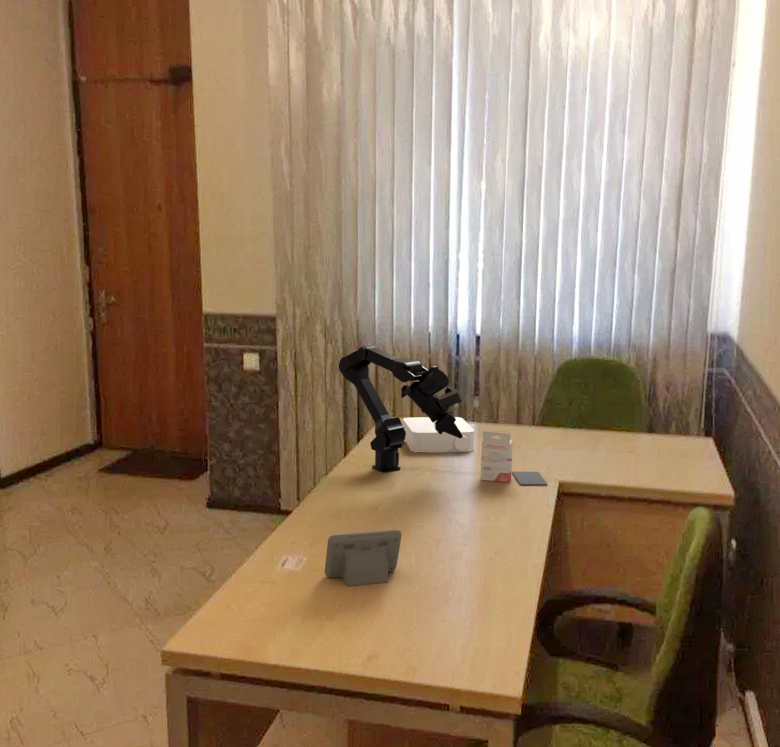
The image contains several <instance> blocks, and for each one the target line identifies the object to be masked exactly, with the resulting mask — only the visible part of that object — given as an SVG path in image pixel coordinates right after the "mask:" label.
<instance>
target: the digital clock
mask: <svg viewBox="0 0 780 747" xmlns="http://www.w3.org/2000/svg"><path fill="white" fill-rule="evenodd" d="M401 541H402V531H401V530H398V529H380V530H367V531H357V532H345V533H334V534H331V535H330V536H329V537H328V539H327V546H326V553H325V554H326V555H325V563H324V574H325V576H326V577H329V578H342V580H343V581H344V583H345V585H346V587H353V586H363V585H372V584H373V585H375V584H382V583H388V579H389V576H388V575H389V573H391V572H394V571H395V570H396V569H397V565H398V559H399V554H400V553H399V552H400V549H401Z"/></svg>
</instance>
